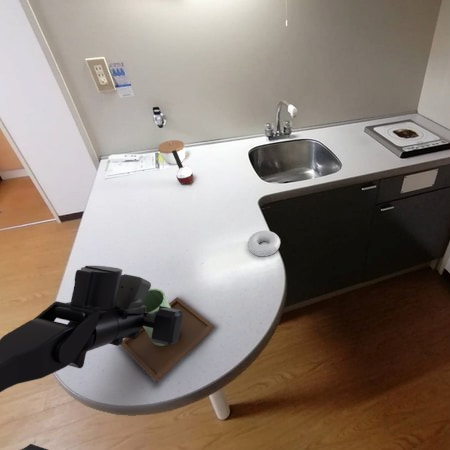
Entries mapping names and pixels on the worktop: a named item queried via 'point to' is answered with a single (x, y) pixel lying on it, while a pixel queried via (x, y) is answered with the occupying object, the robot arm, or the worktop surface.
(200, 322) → the serving tray
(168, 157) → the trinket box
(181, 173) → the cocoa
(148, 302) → the green cup
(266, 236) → the donut
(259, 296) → the worktop surface
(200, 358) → the worktop surface
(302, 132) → the worktop surface
